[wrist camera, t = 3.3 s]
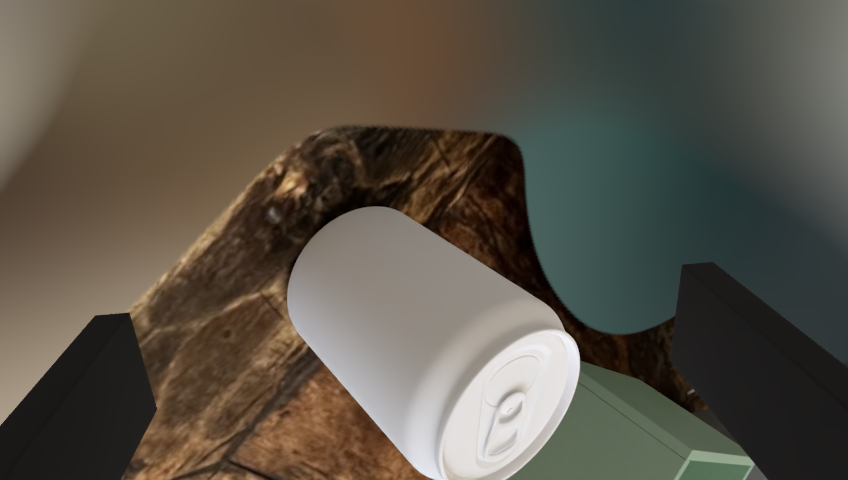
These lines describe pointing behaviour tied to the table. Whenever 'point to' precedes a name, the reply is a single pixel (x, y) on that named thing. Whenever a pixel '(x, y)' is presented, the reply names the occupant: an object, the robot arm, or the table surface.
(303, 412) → the table surface
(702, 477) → the open storage box
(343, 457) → the table surface
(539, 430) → the beverage can
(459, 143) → the table surface
